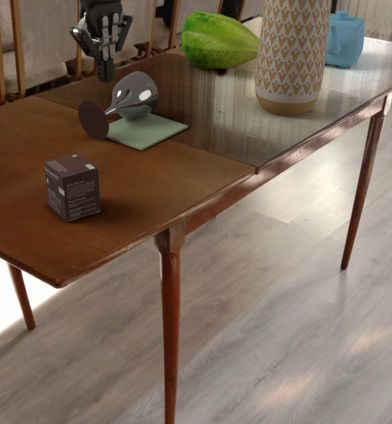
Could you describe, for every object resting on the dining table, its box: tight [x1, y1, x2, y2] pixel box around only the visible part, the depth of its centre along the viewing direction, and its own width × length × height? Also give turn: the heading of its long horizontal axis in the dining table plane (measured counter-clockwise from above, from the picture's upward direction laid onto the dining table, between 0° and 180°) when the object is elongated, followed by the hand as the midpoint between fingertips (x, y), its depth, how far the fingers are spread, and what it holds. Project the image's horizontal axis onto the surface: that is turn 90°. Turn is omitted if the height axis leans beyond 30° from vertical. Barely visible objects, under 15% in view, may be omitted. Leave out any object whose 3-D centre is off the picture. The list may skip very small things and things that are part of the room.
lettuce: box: [180, 9, 260, 70], centre depth 145 cm, size 14×20×12 cm
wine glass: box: [77, 70, 160, 141], centre depth 118 cm, size 8×8×15 cm
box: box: [42, 152, 102, 223], centre depth 94 cm, size 6×6×7 cm
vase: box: [254, 0, 333, 117], centre depth 122 cm, size 14×14×31 cm
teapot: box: [325, 9, 365, 69], centre depth 151 cm, size 12×18×12 cm
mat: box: [104, 112, 189, 151], centre depth 120 cm, size 14×12×1 cm
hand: (105, 81), depth 107 cm, fingers closed
